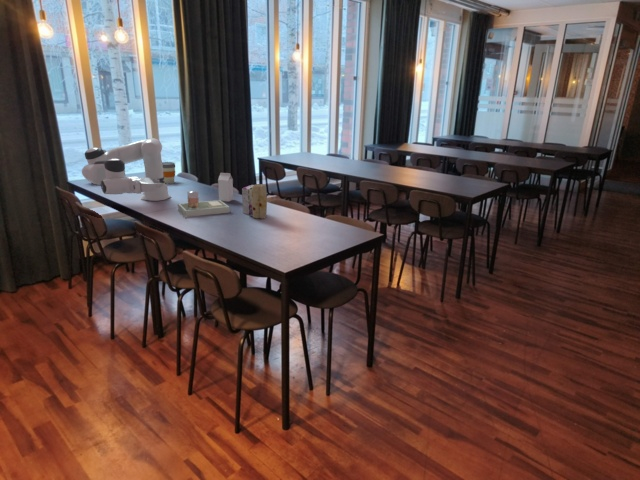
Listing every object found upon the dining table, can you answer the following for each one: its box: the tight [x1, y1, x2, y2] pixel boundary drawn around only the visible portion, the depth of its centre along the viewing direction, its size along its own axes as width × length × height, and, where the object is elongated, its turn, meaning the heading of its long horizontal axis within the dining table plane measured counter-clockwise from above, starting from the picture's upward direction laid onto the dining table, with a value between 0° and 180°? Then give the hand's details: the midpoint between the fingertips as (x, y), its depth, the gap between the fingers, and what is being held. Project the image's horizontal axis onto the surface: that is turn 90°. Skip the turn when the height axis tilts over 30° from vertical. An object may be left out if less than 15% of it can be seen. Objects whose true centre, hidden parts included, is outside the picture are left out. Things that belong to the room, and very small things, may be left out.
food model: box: [252, 183, 268, 220], centre depth 245 cm, size 10×7×20 cm
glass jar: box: [187, 190, 200, 210], centre depth 250 cm, size 6×6×12 cm
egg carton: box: [208, 200, 223, 208], centre depth 257 cm, size 10×6×4 cm, turn 30°
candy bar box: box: [241, 184, 255, 215], centre depth 254 cm, size 11×5×16 cm, turn 160°
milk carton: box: [217, 172, 234, 203], centre depth 280 cm, size 7×7×19 cm
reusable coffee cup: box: [162, 161, 176, 184], centre depth 331 cm, size 13×13×15 cm
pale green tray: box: [177, 199, 231, 220], centre depth 254 cm, size 18×26×4 cm
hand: (161, 183), depth 237 cm, fingers open, 8 cm apart
